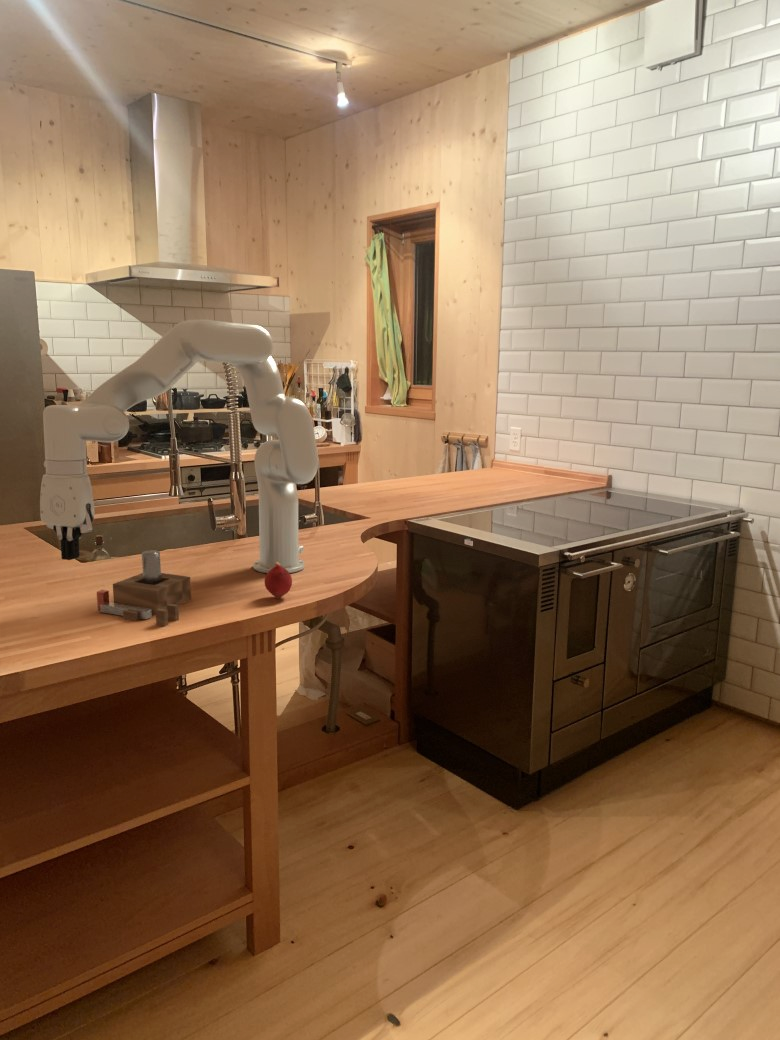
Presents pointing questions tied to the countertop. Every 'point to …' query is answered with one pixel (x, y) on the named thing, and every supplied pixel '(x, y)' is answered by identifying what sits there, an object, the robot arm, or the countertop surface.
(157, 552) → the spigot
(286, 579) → the onion
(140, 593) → the dock
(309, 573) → the countertop surface
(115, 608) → the lock pin
